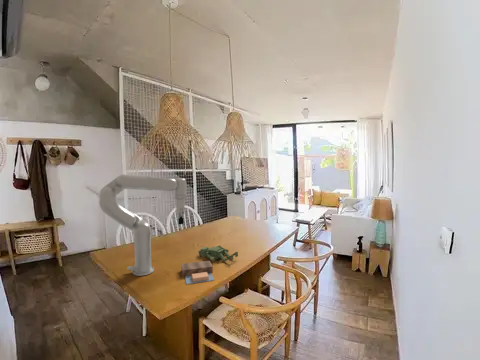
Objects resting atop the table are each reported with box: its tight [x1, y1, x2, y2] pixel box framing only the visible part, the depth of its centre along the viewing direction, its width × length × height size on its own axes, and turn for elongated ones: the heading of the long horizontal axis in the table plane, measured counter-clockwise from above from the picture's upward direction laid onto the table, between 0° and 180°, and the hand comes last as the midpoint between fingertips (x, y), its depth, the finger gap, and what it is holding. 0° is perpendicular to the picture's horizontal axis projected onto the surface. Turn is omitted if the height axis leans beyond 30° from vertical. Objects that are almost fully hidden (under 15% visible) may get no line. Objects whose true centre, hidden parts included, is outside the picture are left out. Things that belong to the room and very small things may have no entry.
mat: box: [184, 273, 215, 285], centre depth 150 cm, size 16×10×1 cm, turn 107°
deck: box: [181, 260, 214, 278], centre depth 160 cm, size 18×10×4 cm, turn 107°
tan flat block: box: [192, 272, 209, 282], centre depth 150 cm, size 9×6×2 cm, turn 108°
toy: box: [198, 245, 239, 263], centre depth 182 cm, size 21×8×30 cm
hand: (181, 223), depth 171 cm, fingers closed
